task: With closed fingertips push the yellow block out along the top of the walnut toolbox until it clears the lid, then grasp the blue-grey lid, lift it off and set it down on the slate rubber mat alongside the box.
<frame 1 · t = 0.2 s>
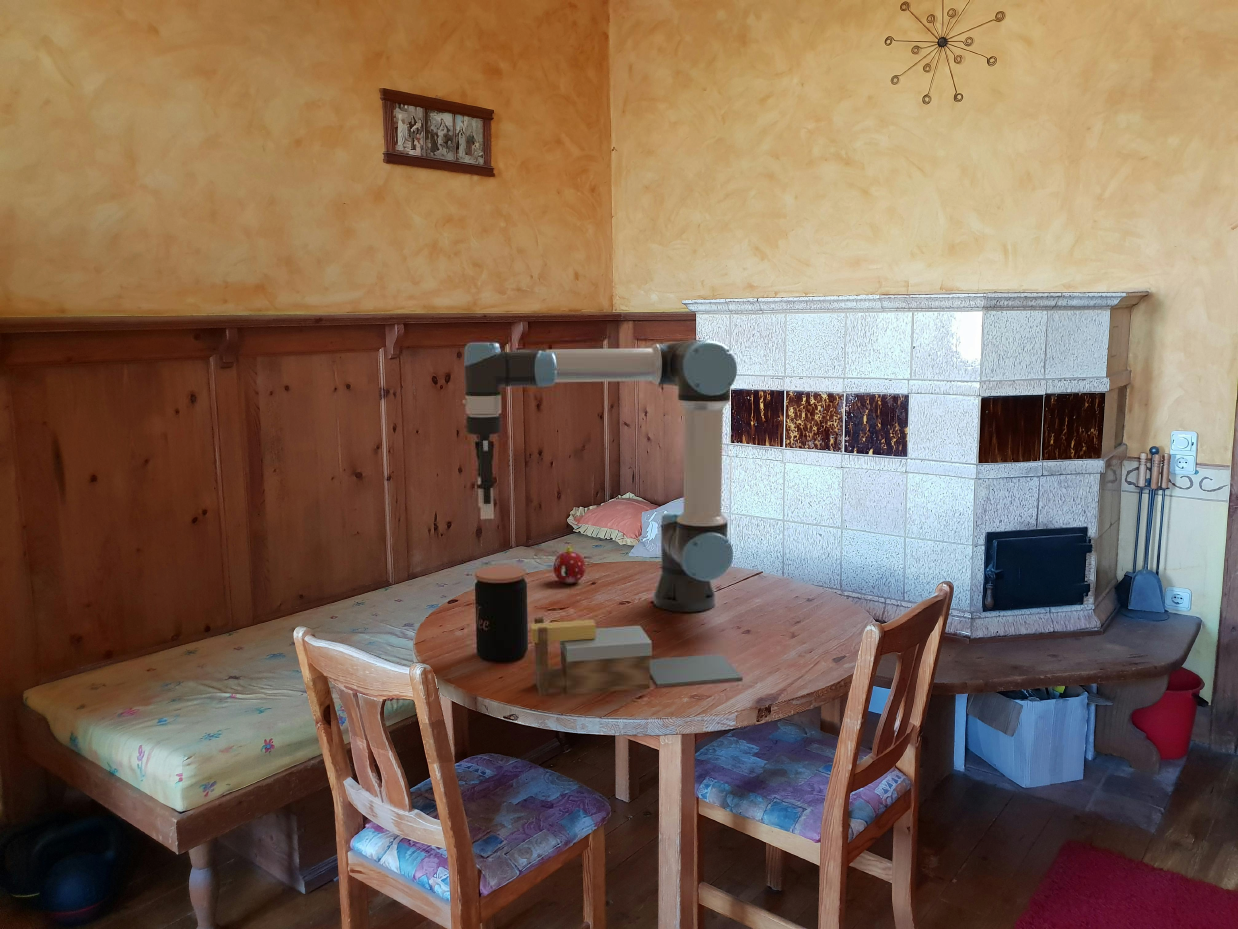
hand: (486, 512, 203), 28 cm above the table, fingers open, 13 cm apart
lid: (604, 649, 178), point 7 cm above the table, touching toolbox
yellow block: (563, 631, 175), point 11 cm above the table, slide at 0.0 cm
coffee jar: (502, 656, 195), on the table
christmas ornament: (569, 583, 248), on the table
mat: (691, 671, 185), on the table
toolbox: (605, 684, 179), on the table
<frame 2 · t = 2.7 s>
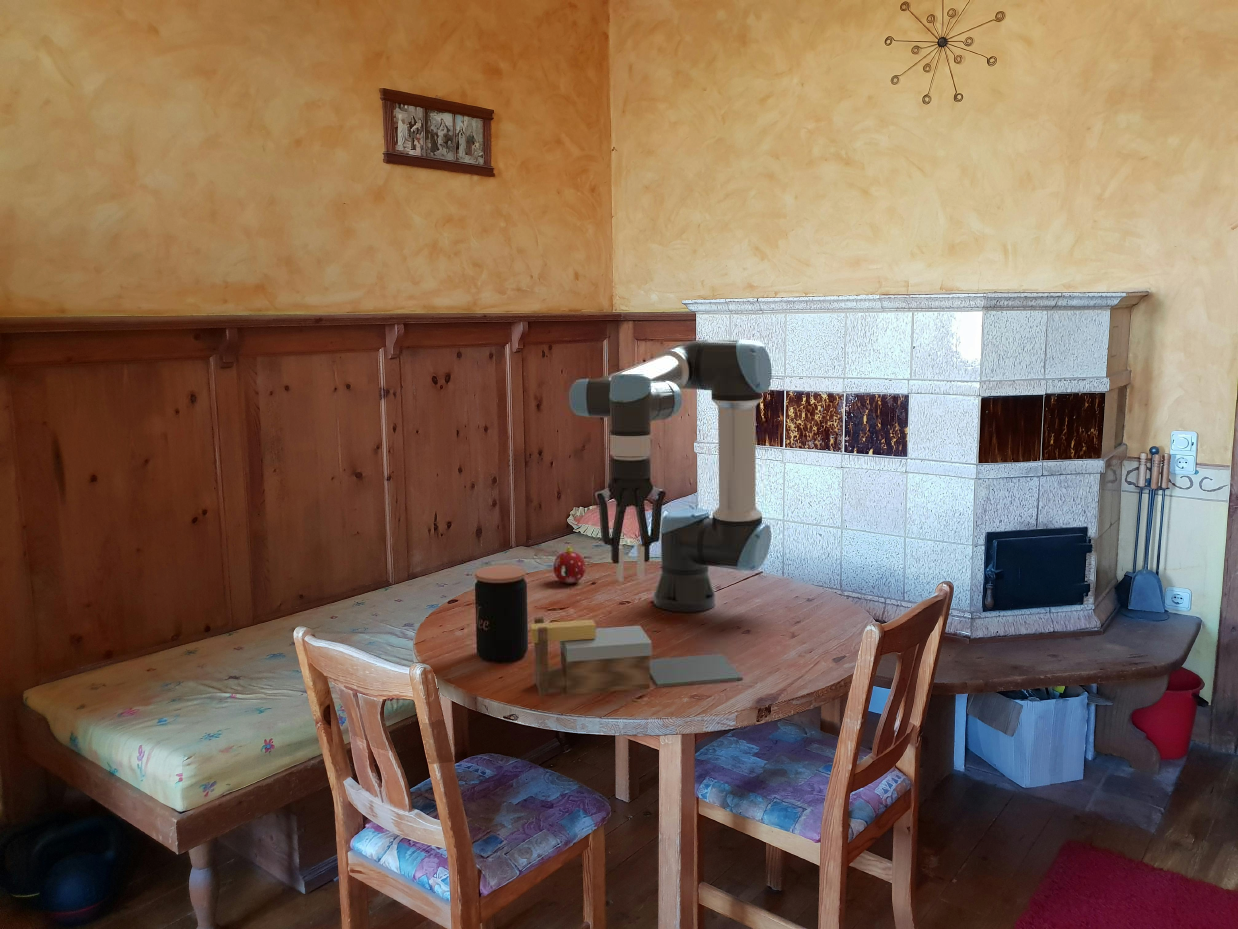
hand: (630, 578, 177), 21 cm above the table, fingers open, 3 cm apart
nothing on the table moved.
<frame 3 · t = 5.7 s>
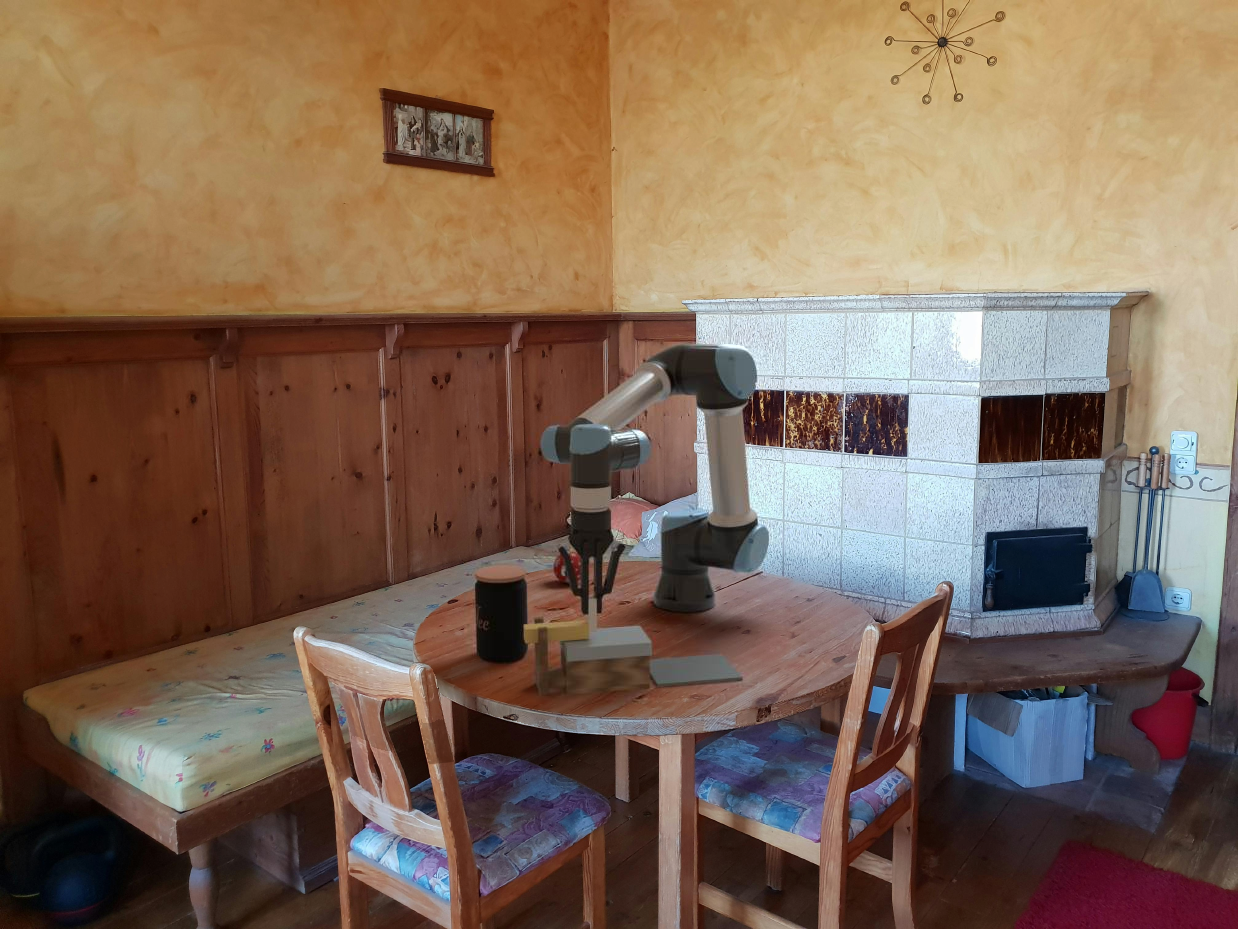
hand: (591, 629, 176), 11 cm above the table, fingers closed
yellow block: (556, 631, 175), point 11 cm above the table, slide at 1.3 cm, touching gripper
everything else where it was.
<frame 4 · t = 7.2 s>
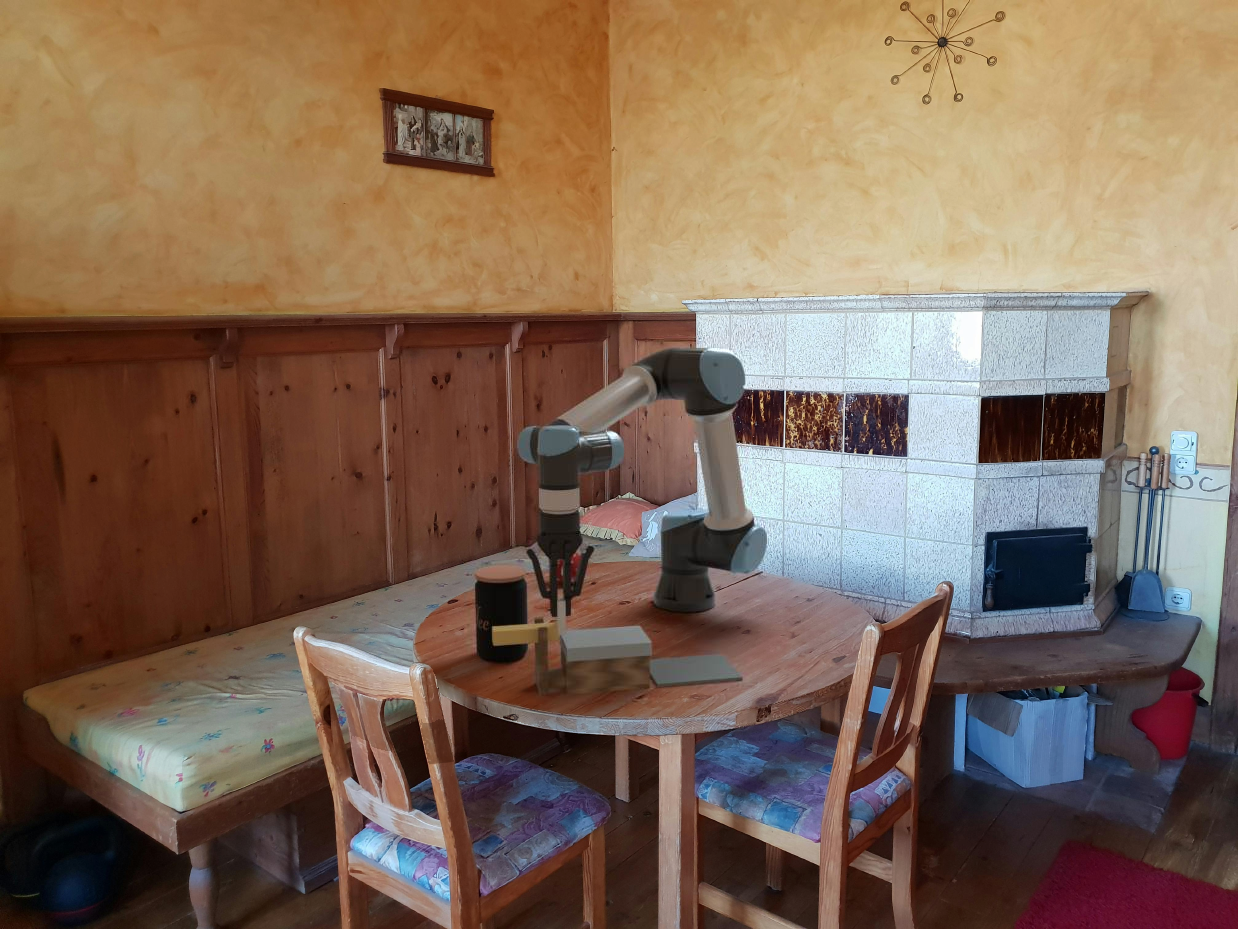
hand: (560, 632, 175), 11 cm above the table, fingers closed
yellow block: (525, 633, 174), point 11 cm above the table, slide at 7.2 cm, touching gripper
everything else where it was.
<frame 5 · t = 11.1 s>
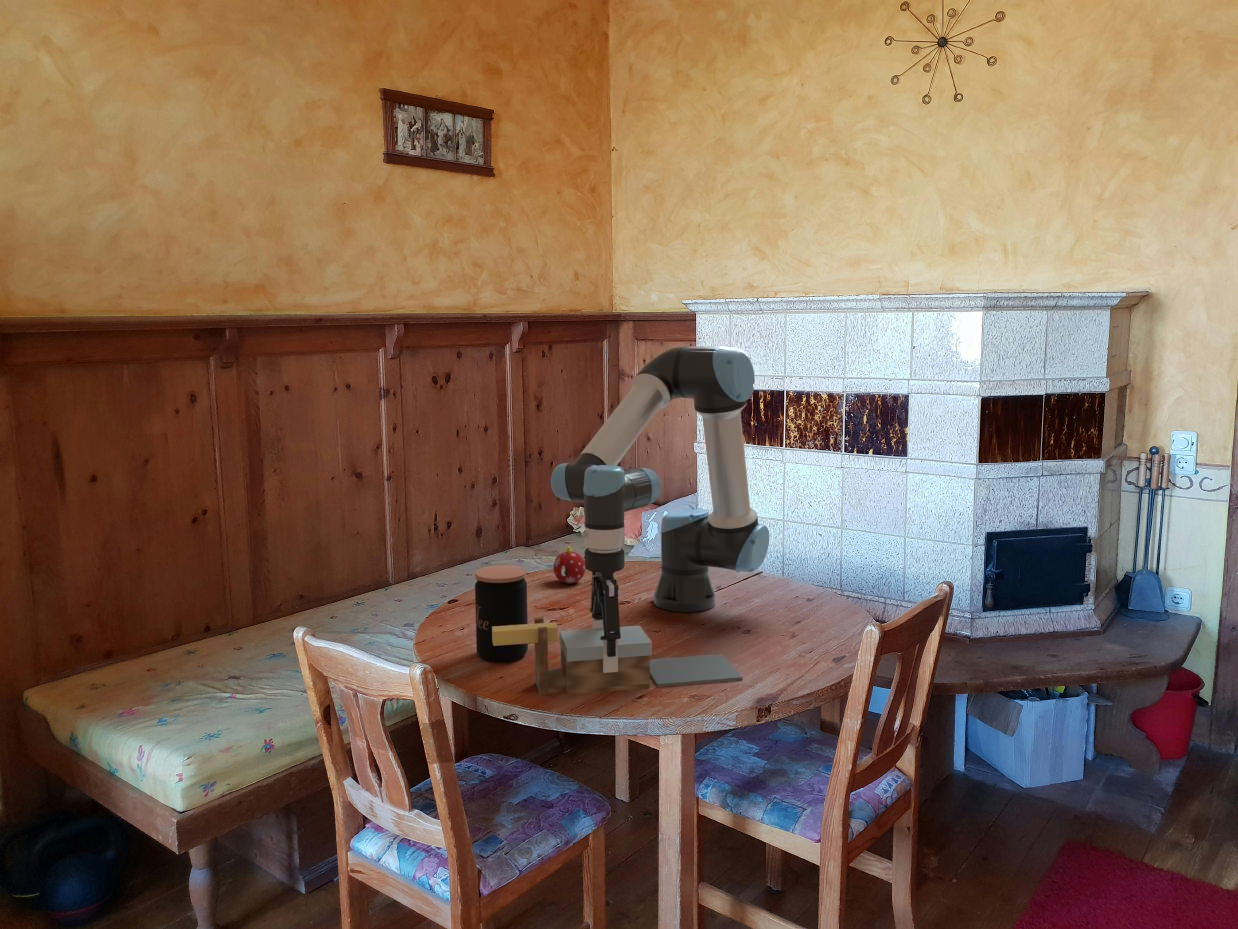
hand: (604, 661, 178), 5 cm above the table, fingers closed on lid, 10 cm apart
lid: (604, 649, 178), point 7 cm above the table, touching gripper, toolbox
yellow block: (525, 633, 174), point 11 cm above the table, slide at 7.2 cm
everything else where it was.
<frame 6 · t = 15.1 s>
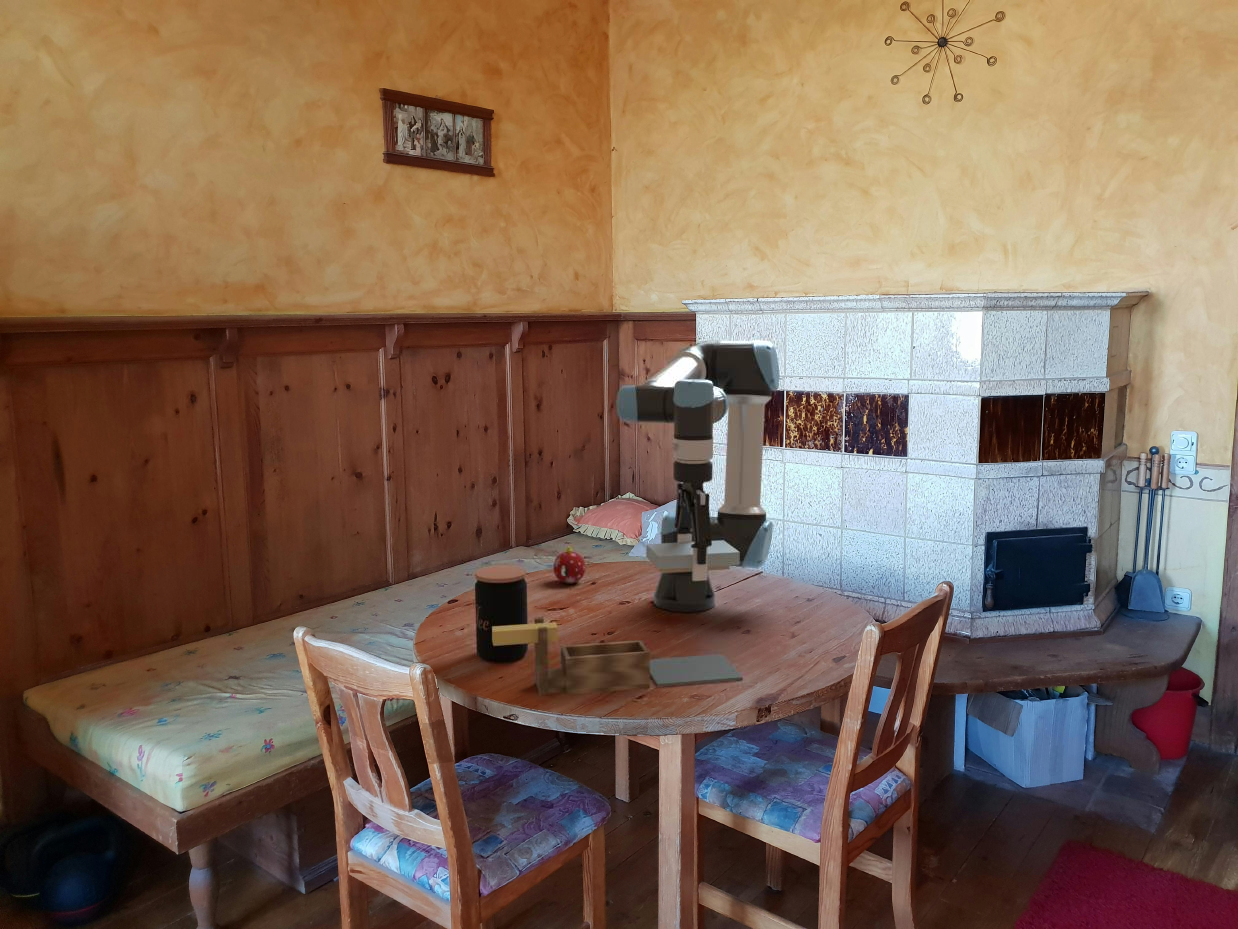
hand: (691, 572, 182), 20 cm above the table, fingers closed on lid, 10 cm apart
lid: (692, 560, 182), point 23 cm above the table, touching gripper
everything else where it was.
when the fingers open (1 cm above the table, at t = 18.9 s): lid drops 2 cm, resting on mat.
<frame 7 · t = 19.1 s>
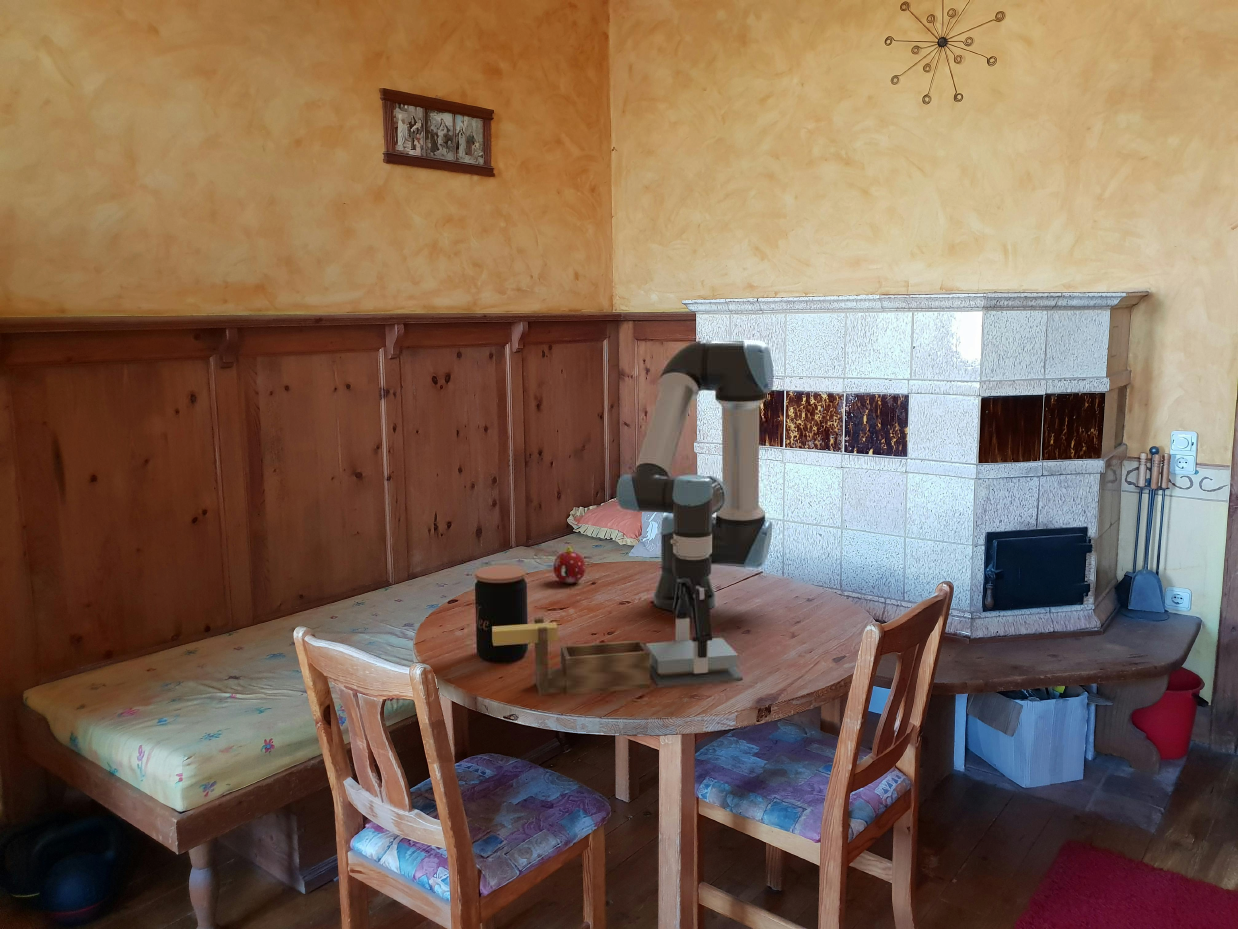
hand: (691, 660, 185), 2 cm above the table, fingers open, 12 cm apart
lid: (691, 661, 185), point 2 cm above the table, touching mat
everything else where it was.
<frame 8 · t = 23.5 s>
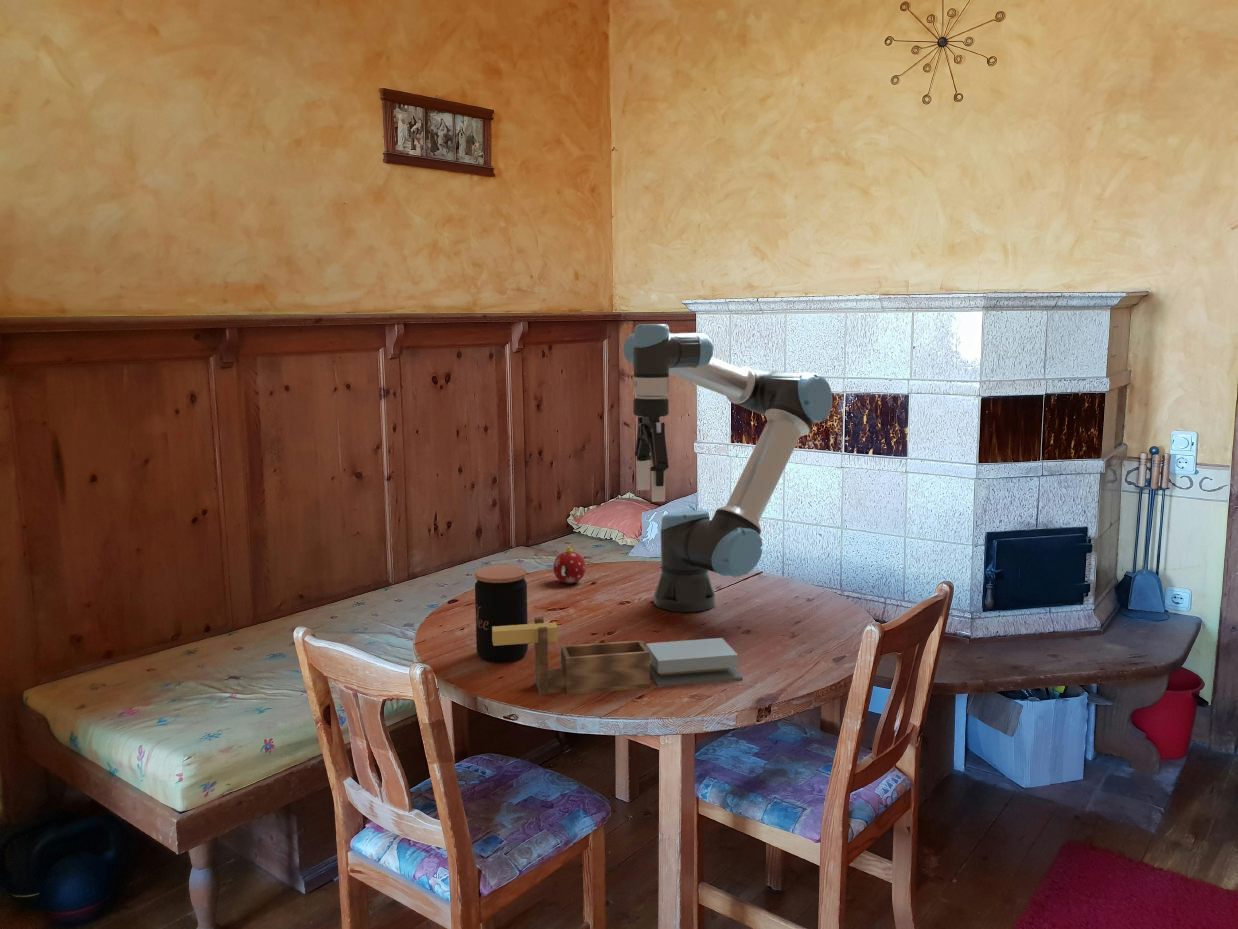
hand: (650, 495, 201), 32 cm above the table, fingers open, 13 cm apart
nothing on the table moved.
at the end: yellow block slide at 7.2 cm; lid inside the target area on the mat (0.1 cm from its centre), point 2.1 cm above the mat's base; lid tilted 0° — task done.
